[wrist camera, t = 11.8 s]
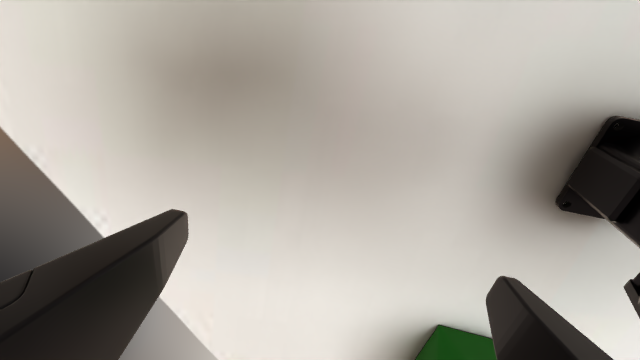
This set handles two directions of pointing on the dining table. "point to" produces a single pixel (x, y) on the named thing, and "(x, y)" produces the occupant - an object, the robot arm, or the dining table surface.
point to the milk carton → (457, 346)
